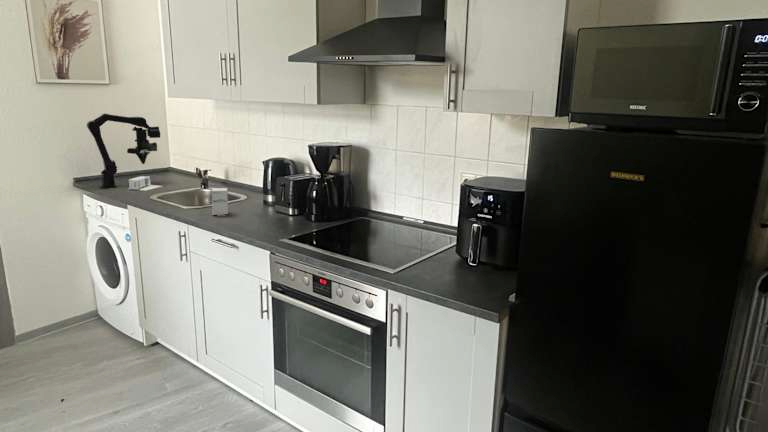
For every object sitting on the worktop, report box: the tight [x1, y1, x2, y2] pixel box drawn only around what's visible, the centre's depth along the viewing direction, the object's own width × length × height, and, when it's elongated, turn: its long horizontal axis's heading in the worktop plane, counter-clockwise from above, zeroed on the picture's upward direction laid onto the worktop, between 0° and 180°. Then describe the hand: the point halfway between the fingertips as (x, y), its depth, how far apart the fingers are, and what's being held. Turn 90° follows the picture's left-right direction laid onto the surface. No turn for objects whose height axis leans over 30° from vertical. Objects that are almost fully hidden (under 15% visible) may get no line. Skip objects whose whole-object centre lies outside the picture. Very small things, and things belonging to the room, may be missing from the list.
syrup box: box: [128, 175, 152, 191], centre depth 308 cm, size 6×6×14 cm
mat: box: [127, 184, 164, 192], centre depth 309 cm, size 12×15×1 cm
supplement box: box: [211, 187, 229, 216], centre depth 254 cm, size 7×7×13 cm
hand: (143, 163), depth 315 cm, fingers closed
